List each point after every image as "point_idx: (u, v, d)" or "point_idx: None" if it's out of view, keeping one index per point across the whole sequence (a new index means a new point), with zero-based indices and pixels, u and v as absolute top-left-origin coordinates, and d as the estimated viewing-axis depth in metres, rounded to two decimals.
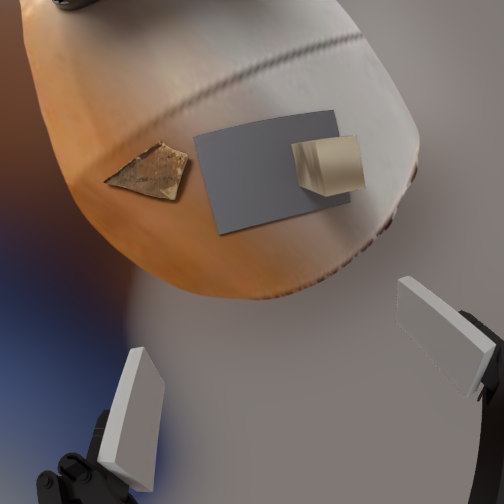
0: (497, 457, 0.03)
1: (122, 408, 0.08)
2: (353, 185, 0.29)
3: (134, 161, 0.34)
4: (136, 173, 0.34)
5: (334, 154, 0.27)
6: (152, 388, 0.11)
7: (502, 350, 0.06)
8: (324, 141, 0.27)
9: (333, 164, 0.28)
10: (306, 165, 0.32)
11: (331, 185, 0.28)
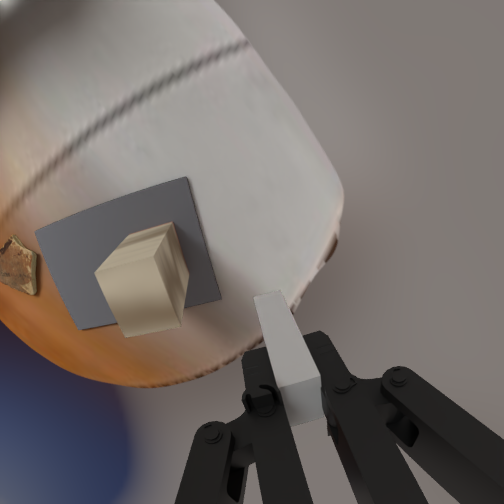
0: None
1: (278, 339, 0.11)
2: (160, 324, 0.20)
3: None
4: (1, 268, 0.25)
5: (122, 287, 0.19)
6: None
7: (327, 391, 0.08)
8: (106, 271, 0.18)
9: (124, 300, 0.19)
10: None
11: (128, 325, 0.20)
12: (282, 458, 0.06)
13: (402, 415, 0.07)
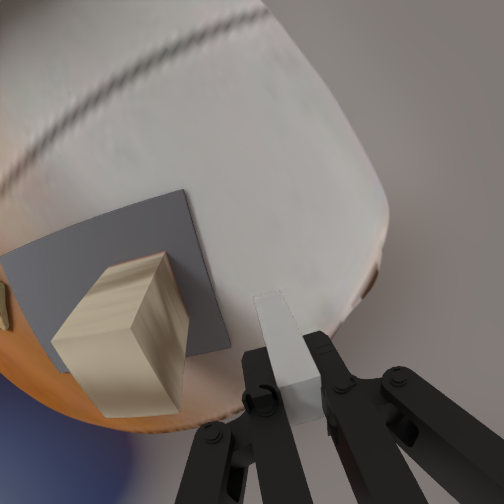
0: None
1: (278, 339, 0.11)
2: (151, 409, 0.13)
3: None
4: None
5: (91, 364, 0.11)
6: None
7: (327, 391, 0.08)
8: (65, 342, 0.11)
9: (97, 379, 0.12)
10: None
11: (107, 406, 0.12)
12: (282, 458, 0.06)
13: (402, 415, 0.07)
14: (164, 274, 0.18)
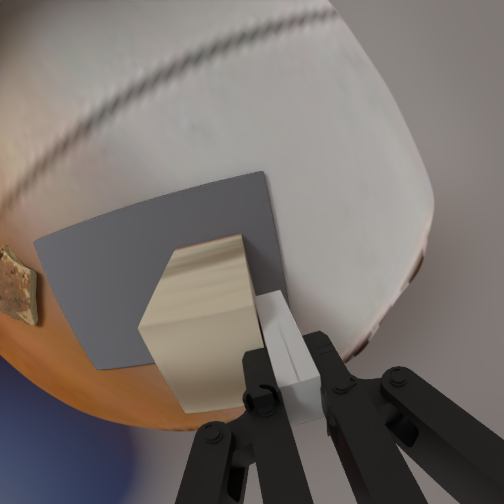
0: None
1: (278, 339, 0.11)
2: None
3: None
4: None
5: (190, 352, 0.11)
6: None
7: (327, 392, 0.08)
8: (160, 327, 0.11)
9: (190, 369, 0.12)
10: None
11: (193, 400, 0.13)
12: (282, 458, 0.06)
13: (402, 415, 0.07)
14: (245, 256, 0.18)
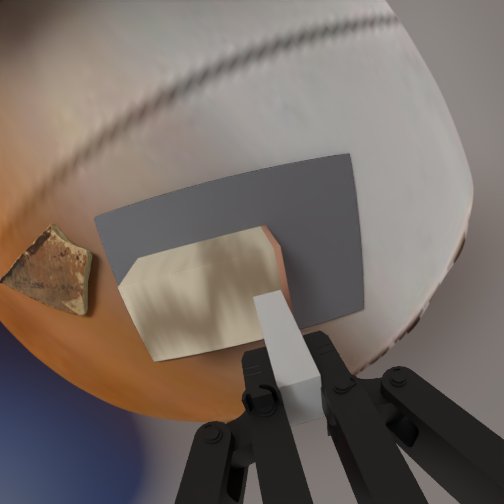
0: None
1: (278, 339, 0.11)
2: None
3: (23, 258, 0.18)
4: (29, 276, 0.19)
5: None
6: None
7: (327, 391, 0.08)
8: None
9: None
10: None
11: None
12: (282, 458, 0.06)
13: (402, 415, 0.07)
14: (245, 271, 0.16)
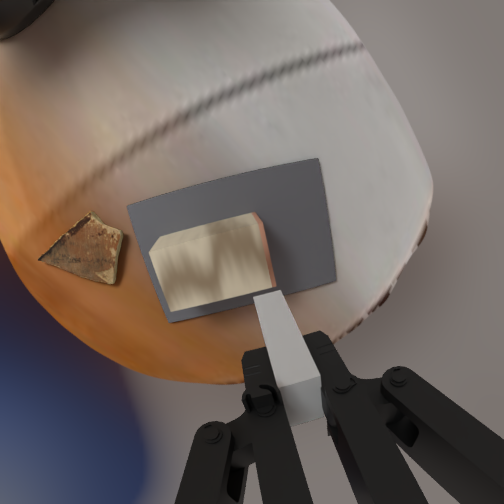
0: None
1: (278, 339, 0.11)
2: None
3: (64, 238, 0.26)
4: (67, 253, 0.26)
5: None
6: None
7: (327, 391, 0.08)
8: None
9: None
10: None
11: None
12: (282, 458, 0.06)
13: (402, 415, 0.07)
14: (238, 239, 0.23)
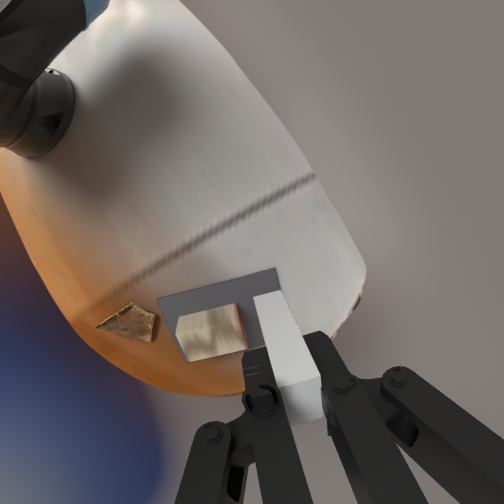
0: None
1: (278, 339, 0.11)
2: None
3: (115, 316, 0.43)
4: (118, 325, 0.44)
5: None
6: None
7: (327, 391, 0.08)
8: (178, 320, 0.44)
9: None
10: None
11: None
12: (282, 458, 0.06)
13: (402, 415, 0.07)
14: (225, 327, 0.41)
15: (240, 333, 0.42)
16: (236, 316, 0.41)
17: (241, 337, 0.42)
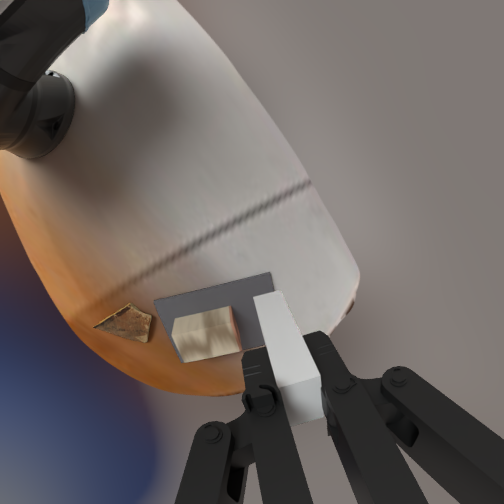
0: None
1: (278, 339, 0.11)
2: None
3: (112, 317, 0.44)
4: (115, 325, 0.44)
5: None
6: None
7: (327, 391, 0.08)
8: None
9: None
10: None
11: None
12: (282, 458, 0.06)
13: (402, 415, 0.07)
14: (220, 330, 0.42)
15: (235, 336, 0.42)
16: (231, 319, 0.42)
17: (236, 339, 0.43)
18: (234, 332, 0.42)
